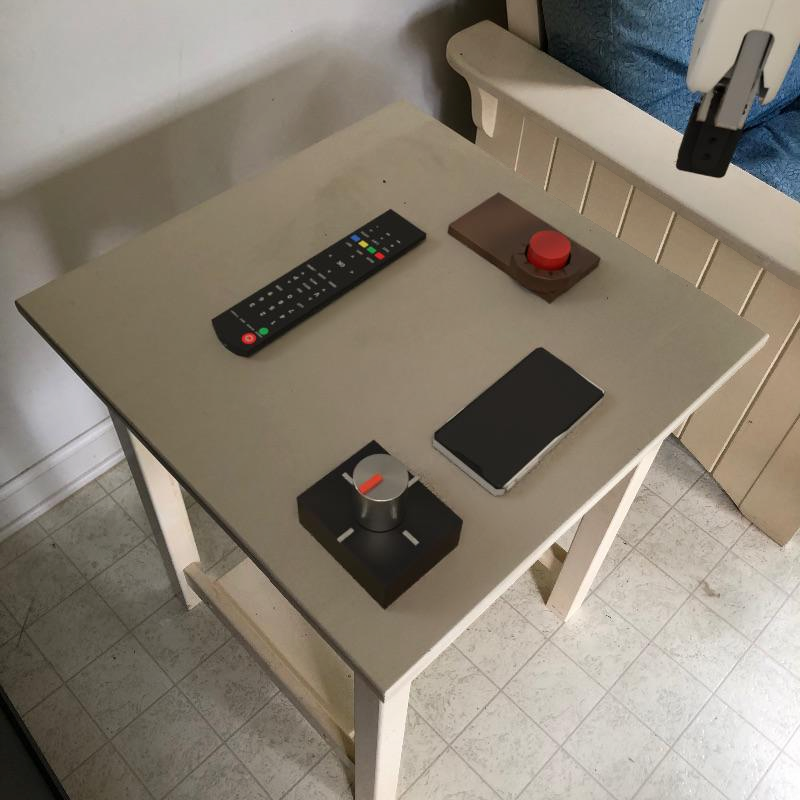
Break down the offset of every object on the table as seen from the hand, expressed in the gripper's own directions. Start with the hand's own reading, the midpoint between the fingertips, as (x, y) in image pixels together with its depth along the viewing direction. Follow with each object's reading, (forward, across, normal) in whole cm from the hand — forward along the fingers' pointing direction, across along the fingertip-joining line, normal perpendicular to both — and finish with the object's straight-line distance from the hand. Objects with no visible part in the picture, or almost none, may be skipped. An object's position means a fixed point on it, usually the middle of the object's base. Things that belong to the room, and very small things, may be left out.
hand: (700, 166), depth 55 cm
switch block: (+25, -17, -12) cm, 32 cm away
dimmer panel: (+25, +20, -16) cm, 36 cm away
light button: (+22, -14, -9) cm, 28 cm away
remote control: (+25, -5, -30) cm, 39 cm away
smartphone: (+25, +5, -8) cm, 27 cm away
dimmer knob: (+21, +20, -16) cm, 33 cm away
